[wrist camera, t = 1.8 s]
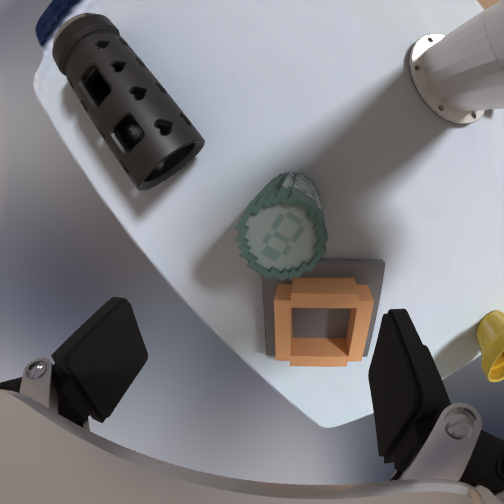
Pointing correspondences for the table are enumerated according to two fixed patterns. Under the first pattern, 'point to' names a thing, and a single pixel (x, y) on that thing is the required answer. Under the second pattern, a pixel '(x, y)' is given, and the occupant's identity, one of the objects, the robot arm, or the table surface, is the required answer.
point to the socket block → (323, 313)
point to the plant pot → (492, 345)
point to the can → (283, 228)
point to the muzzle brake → (125, 100)
